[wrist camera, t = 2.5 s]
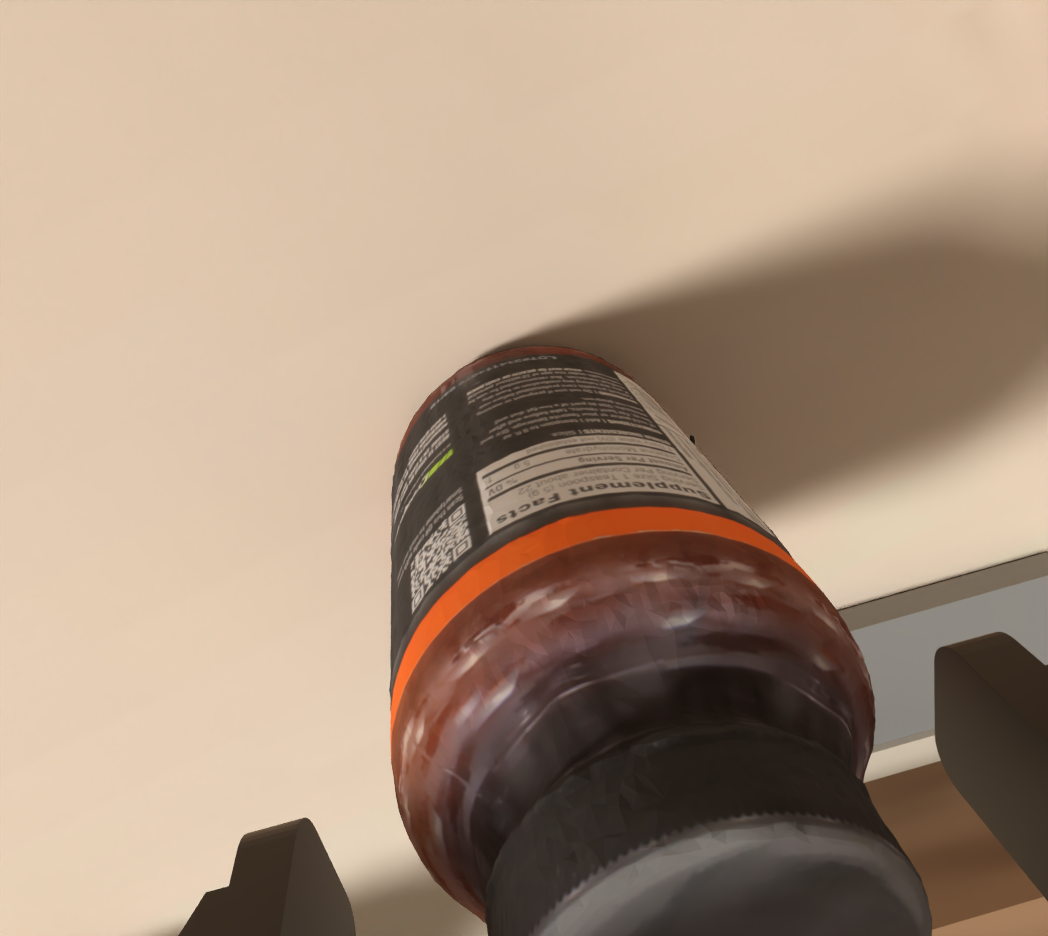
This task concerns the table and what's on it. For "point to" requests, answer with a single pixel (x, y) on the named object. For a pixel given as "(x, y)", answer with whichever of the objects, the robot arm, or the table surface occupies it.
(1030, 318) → the table surface
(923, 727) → the board
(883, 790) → the walnut block
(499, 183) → the table surface
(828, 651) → the supplement bottle
